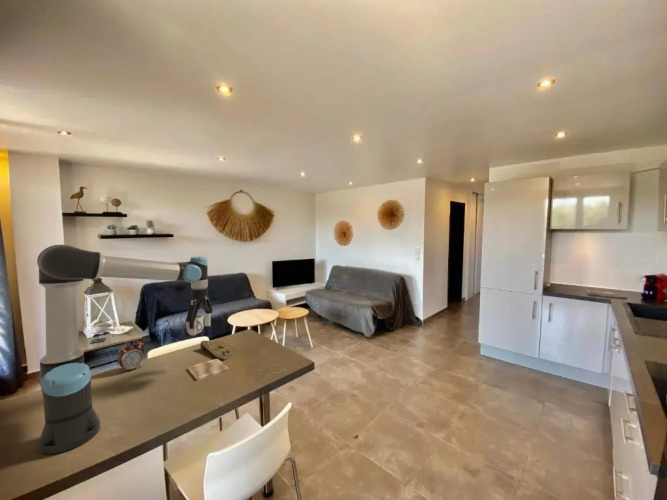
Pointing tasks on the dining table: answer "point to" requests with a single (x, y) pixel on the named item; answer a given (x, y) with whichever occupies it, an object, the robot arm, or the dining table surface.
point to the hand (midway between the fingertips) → (200, 330)
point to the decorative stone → (218, 348)
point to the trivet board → (207, 369)
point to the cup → (198, 324)
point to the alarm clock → (131, 355)
